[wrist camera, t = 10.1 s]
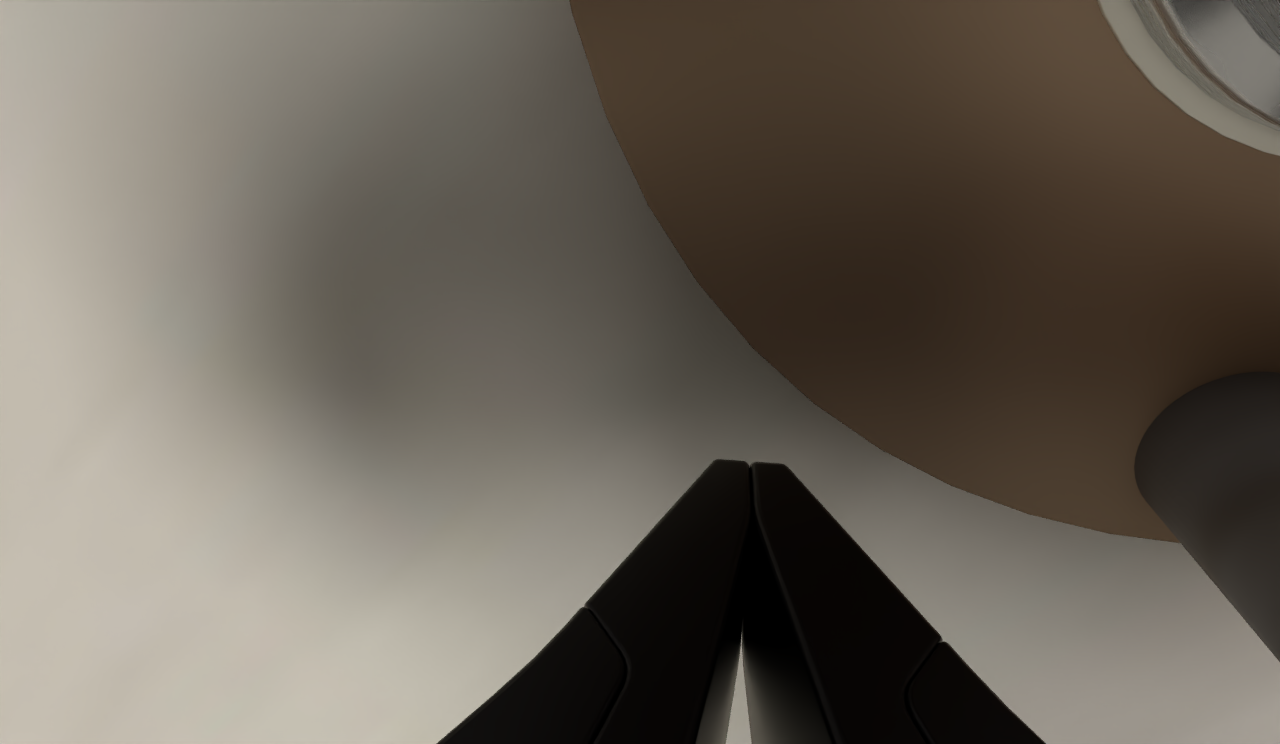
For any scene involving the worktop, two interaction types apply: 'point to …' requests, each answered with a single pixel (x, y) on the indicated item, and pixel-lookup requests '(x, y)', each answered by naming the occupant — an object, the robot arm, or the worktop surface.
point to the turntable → (982, 247)
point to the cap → (1223, 50)
